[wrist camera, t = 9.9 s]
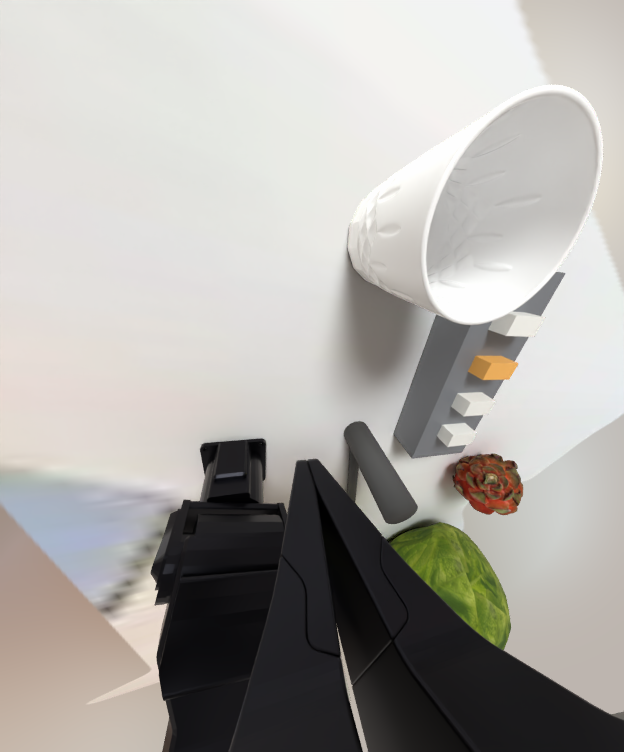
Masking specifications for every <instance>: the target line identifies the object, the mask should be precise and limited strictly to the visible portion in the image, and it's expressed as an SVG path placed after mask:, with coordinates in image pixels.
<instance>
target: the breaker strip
mask: <svg viewBox="0 0 624 752" xmlns="http://www.w3.org/2000/svg"><path fill="white" fill-rule="evenodd" d="M564 275H565V273H561V272H556V273H555V274H554V275H553V276H552V277H551V279H550V280H549V281H548V282H547V283H546V284H545V285H544V286H543V287H542V288H541V289H540V290H539V291H538V292H537V293H536V294H535V295H534V296H533V297H532V298H530V299H529V300H528V301H527V302H526V303H524V304H523V305H522V306H520V307H519V308H517V309H516V310H514V311H513V312H511V313H509V314H507V315H505V316H503V317H501V318H499V319H497V320H494V321H491V322H488V323H484V324H478V325H463V324H458V323H454V322H452V321H449V320H447V319H445V318H443V317H441V316H439V315H436V318H435V320H434V323H433V326H432V329H431V332H430V334H429V337H428V340H427V343H426V345H425V348H424V351H423V354H422V357H421V359H420V362H419V365H418V368H417V370H416V373H415V376H414V379H413V382H412V384H411V387H410V390H409V393H408V395H407V398H406V401H405V404H404V407H403V409H402V412H401V415H400V418H399V420H398V423H397V426H396V429H395V431H394V435H395V436H396V438H397V439H398V440H399V442H400V443H401V444H402V446H403V447H404V448H405V450H406V451H407V453H408V454H409V455H410V457H411V458H420V457H428V456H437V455H445V454H453V453H461V452H462V451H463V449H464V448H465V446H466V445H470V444H471V443H472V441H473V440H474V438H475V436H476V434H477V432H475V431H474V430H475V429H476V427H477V425H478V424H479V422H480V420H481V418H482V417H483V415H488V414H489V412H490V411H491V409H492V407H493V406H494V404H495V402H496V401H495V400H493V398H494V396H495V394H496V392H497V391H498V389H499V387H500V386H501V384H502V382H503V380H505V379H510V377H511V375H512V374H513V372H514V370H515V368H516V367H517V365H518V363H517V362H514V361H515V360H516V358H517V356H518V354H519V353H520V351H521V349H522V348H523V346H524V344H525V342H526V341H527V339H528V337H534V336H535V335H536V333H537V331H538V330H539V328H540V326H541V325H542V323H543V321H544V319H545V318H546V317H542V316H541V315H542V313H543V311H544V310H545V308H546V306H547V304H548V303H549V301H550V299H551V298H552V296H553V294H554V292H555V291H556V289H557V287H558V285H559V284H560V282H561V280H562V279H563V277H564Z"/></svg>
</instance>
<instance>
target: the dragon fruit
mask: <svg viewBox="0 0 624 752" xmlns="http://www.w3.org/2000/svg"><path fill="white" fill-rule="evenodd" d="M516 469H517V464H516V463H515V462H514V461H510V460H507V461H503V459H502V457H501V456H499V455H497V454H491V455H489V454H485V455H481V454H480V455H478V456H476V457H475V456H470V457H469V456H468V457H465V458H463V459H460V460H459V463H458V465H457V467H456V472H455V477H454V476H453V481H454V484H455V485H454V487H455V488H456V489H457V490H458V491H459V493H460V494H461V495H462V496H463V497H465V498H466V499H467V500H469V502H470V504H471V506H472V507H473V508H474V509H475V510H477V511H479V512H482V513H485V514H492V513H493V512H494V511H496V512H497V513H498V514H501V515H508V514H510V513H514V512H516V511H517V506H518V505H519V503H520V501H521V497H522V496H523V484H522V483H521V478H520V476H519V474H518V472H517V470H516Z"/></svg>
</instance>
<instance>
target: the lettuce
mask: <svg viewBox="0 0 624 752" xmlns="http://www.w3.org/2000/svg"><path fill="white" fill-rule="evenodd" d="M389 544H390V545H391V546H392V547H393V548H394V549H395V551H396V552H397V553H398V554H399V555H400V556H401V557H402V558H403V560H404V561H405V562H406V563H407V564H408V565H409V566H410V567H411V568H412V569H413V570H414V571H415V572H416V573H417V574H418V575H419V576H420V577H421V578H422V579H423V580H424V581H425V582H426V583H427V584H428V585H429V586H430V587H431V588H432V589H433V590H434V591H435V592H436V593H437V594H438V595H439V596H440V597H441V598H442V599H443V600H444V601H445V602H446V603H447V604H448V605H449V606H450V607H451V608H452V609H453V610H454V611H455V612H456V613H457V614H458V615H459V616H460V617H461V618H462V619H463V620H464V621H465V622H466V623H467V624H468V625H469V626H470V627H472V628H473V629H474V630H475V631H476V632H478V633H479V634H480V635H481V636H483V637H484V638H485V639H487V640H488V641H489V642H491V643H492V644H494V645H495V646H497V647H499V648H500V649H502V650H504V648H505V645H506V643H507V640H508V637H509V633H510V630H511V624H510V616H509V609H508V605H507V600H506V595H505V593H504V591H503V588H502V587H501V584H500V582H499V579H498V578H497V576H496V574H495V572H494V571H493V569H492V567H491V566H490V564H489V562H488V561H487V559H486V558H485V556H484V555H483V554H482V552H481V551H480V550H479V548H478V547H477V545H476V544H475V543H474V542H473V541H472V540H471V539H470V538H469V537H468V535H466V534H465V533H464V532H462V531H461V530H460V529H458V528H456V527H454V526H451V525H449V524H445V523H441V522H439V523H436V524H433V525H431V526H427V527H421V528H416V529H413V530H410V531H407V532H405V533H403V534H401V535H400V536H398V537H396V538H395V539H394V540H393V541H391V542H390V543H389Z"/></svg>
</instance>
